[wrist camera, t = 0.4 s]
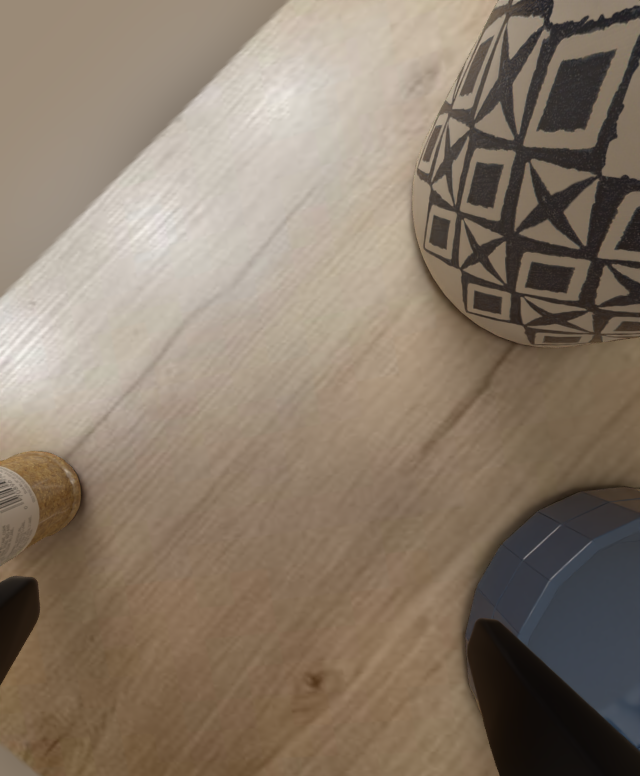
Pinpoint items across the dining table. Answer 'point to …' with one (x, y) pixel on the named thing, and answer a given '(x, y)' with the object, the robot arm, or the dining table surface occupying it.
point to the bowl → (575, 598)
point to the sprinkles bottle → (34, 500)
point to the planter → (540, 175)
